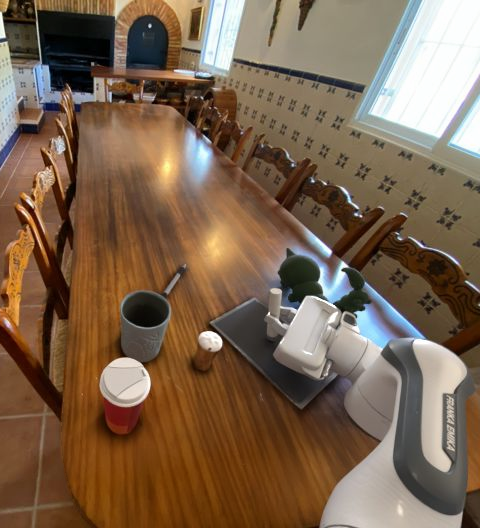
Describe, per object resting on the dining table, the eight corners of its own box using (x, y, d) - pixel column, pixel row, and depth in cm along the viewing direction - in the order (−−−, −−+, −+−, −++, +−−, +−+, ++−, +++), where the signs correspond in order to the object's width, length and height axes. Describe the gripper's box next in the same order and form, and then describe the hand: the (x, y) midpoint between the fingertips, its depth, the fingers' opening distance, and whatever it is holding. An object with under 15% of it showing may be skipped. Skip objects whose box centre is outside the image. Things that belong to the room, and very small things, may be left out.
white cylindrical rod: (279, 338, 67) (284, 291, 61) (272, 342, 66) (277, 295, 60) (270, 333, 69) (274, 286, 63) (264, 337, 68) (267, 290, 62)
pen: (160, 298, 77) (160, 295, 76) (183, 264, 88) (184, 261, 87) (164, 300, 76) (165, 297, 75) (187, 266, 88) (188, 263, 87)
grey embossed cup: (128, 371, 60) (132, 335, 53) (110, 333, 67) (112, 296, 60) (171, 355, 64) (181, 319, 56) (150, 321, 71) (156, 284, 63)
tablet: (344, 368, 64) (346, 366, 63) (299, 411, 56) (301, 409, 56) (253, 298, 79) (254, 296, 78) (208, 324, 71) (209, 322, 71)
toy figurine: (341, 341, 72) (288, 268, 89) (397, 291, 59) (322, 216, 76) (306, 344, 70) (260, 269, 88) (355, 293, 57) (289, 217, 75)
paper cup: (134, 392, 57) (141, 349, 48) (148, 433, 52) (159, 394, 43) (94, 403, 55) (94, 361, 46) (105, 447, 49) (106, 409, 40)
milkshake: (187, 372, 61) (198, 343, 55) (192, 351, 65) (202, 322, 59) (209, 380, 60) (223, 352, 54) (213, 359, 64) (226, 330, 57)
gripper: (316, 394, 54) (245, 349, 61) (340, 328, 67) (279, 297, 73) (333, 376, 50) (255, 330, 57) (355, 310, 63) (289, 278, 69)
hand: (269, 311), depth 65 cm, fingers closed on white cylindrical rod, 2 cm apart
